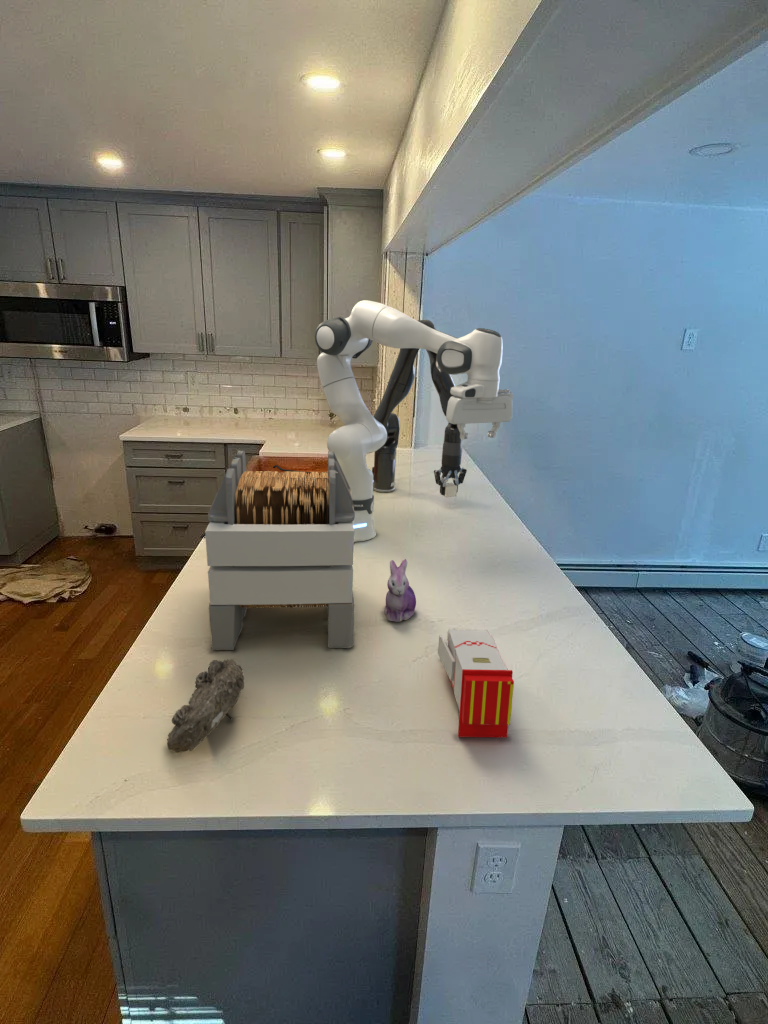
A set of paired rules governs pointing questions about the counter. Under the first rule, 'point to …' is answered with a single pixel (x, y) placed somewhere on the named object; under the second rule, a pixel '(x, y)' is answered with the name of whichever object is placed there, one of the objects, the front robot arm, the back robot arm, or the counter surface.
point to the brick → (450, 490)
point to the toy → (478, 682)
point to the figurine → (399, 594)
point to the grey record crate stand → (280, 548)
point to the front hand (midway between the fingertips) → (477, 438)
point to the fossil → (206, 705)
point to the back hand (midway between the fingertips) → (448, 494)
